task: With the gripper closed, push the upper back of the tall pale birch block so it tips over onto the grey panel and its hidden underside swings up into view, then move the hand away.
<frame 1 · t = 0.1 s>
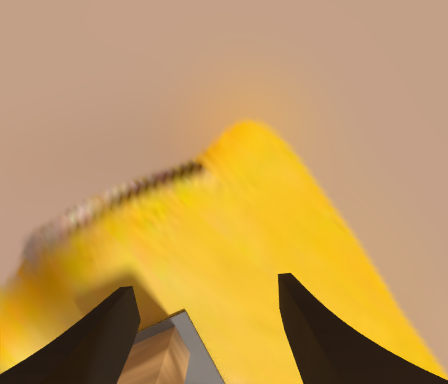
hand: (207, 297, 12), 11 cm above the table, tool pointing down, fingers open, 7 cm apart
grey panel: (175, 383, 24), on the table
birch block: (155, 351, 23), resting on grey panel
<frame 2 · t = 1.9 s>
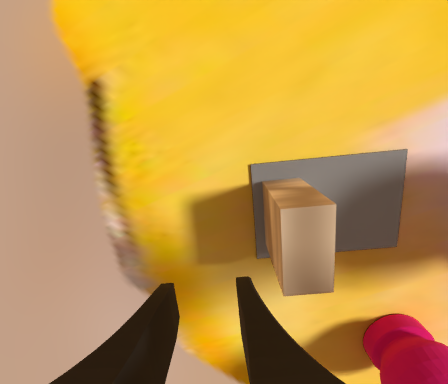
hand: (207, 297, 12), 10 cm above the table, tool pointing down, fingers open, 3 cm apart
grey panel: (326, 206, 21), on the table
pepper mill: (390, 335, 26), on the table
birch block: (282, 212, 21), resting on grey panel
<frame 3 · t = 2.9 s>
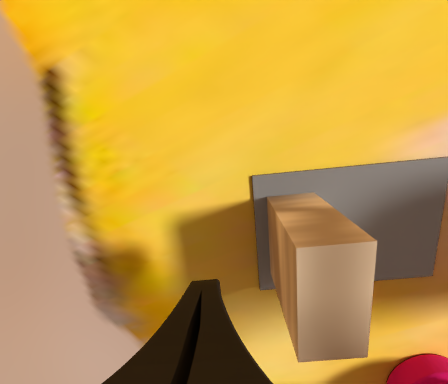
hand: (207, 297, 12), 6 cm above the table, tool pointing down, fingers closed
grey panel: (346, 227, 17), on the table
pepper mill: (419, 378, 21), on the table
birch block: (291, 234, 17), resting on grey panel
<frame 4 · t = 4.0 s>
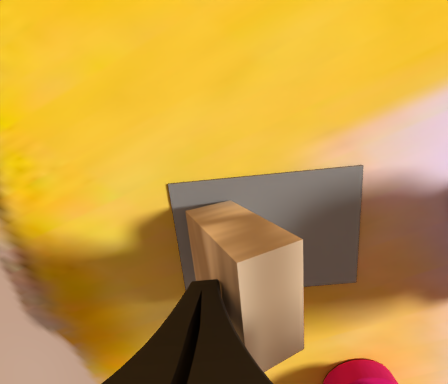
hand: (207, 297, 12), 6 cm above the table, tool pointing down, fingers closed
grey panel: (267, 235, 17), on the table
pepper mill: (355, 382, 22), on the table
birch block: (213, 246, 17), point 1 cm above the table, tilted 25°, touching grey panel
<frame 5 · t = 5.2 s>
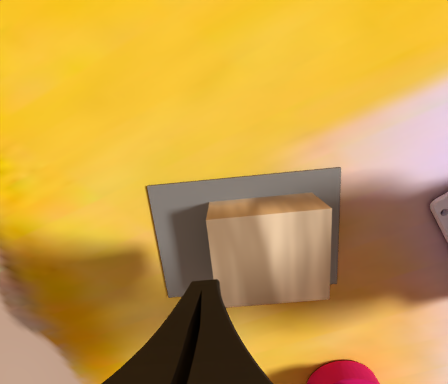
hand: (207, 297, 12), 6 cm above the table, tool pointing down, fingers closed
grey panel: (247, 236, 17), on the table
pepper mill: (338, 383, 22), on the table
birch block: (213, 252, 16), point 2 cm above the table, tilted 90°, touching grey panel
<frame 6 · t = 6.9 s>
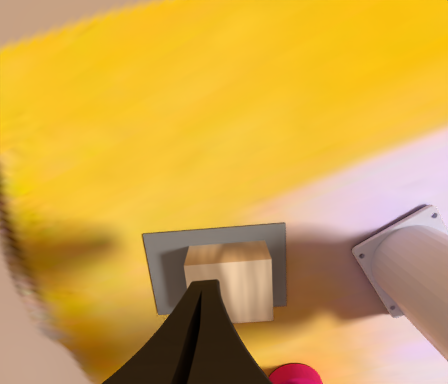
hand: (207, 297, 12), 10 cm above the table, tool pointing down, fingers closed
grey panel: (218, 270, 23), on the table
pepper mill: (292, 381, 27), on the table
birch block: (190, 284, 21), point 2 cm above the table, tilted 90°, touching grey panel
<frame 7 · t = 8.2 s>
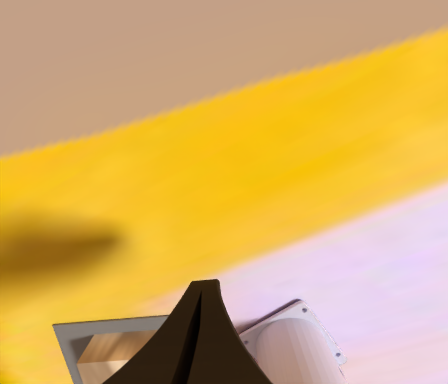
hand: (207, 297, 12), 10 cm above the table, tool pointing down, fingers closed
grey panel: (123, 352, 26), on the table
birch block: (93, 370, 24), point 2 cm above the table, tilted 90°, touching grey panel
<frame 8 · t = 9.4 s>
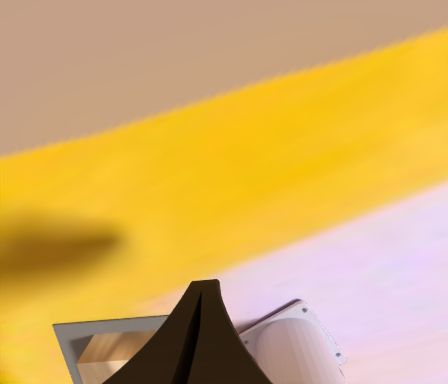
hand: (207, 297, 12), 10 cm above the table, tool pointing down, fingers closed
grey panel: (123, 352, 26), on the table
birch block: (93, 370, 24), point 2 cm above the table, tilted 90°, touching grey panel
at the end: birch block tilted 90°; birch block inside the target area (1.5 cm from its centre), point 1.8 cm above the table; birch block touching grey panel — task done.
